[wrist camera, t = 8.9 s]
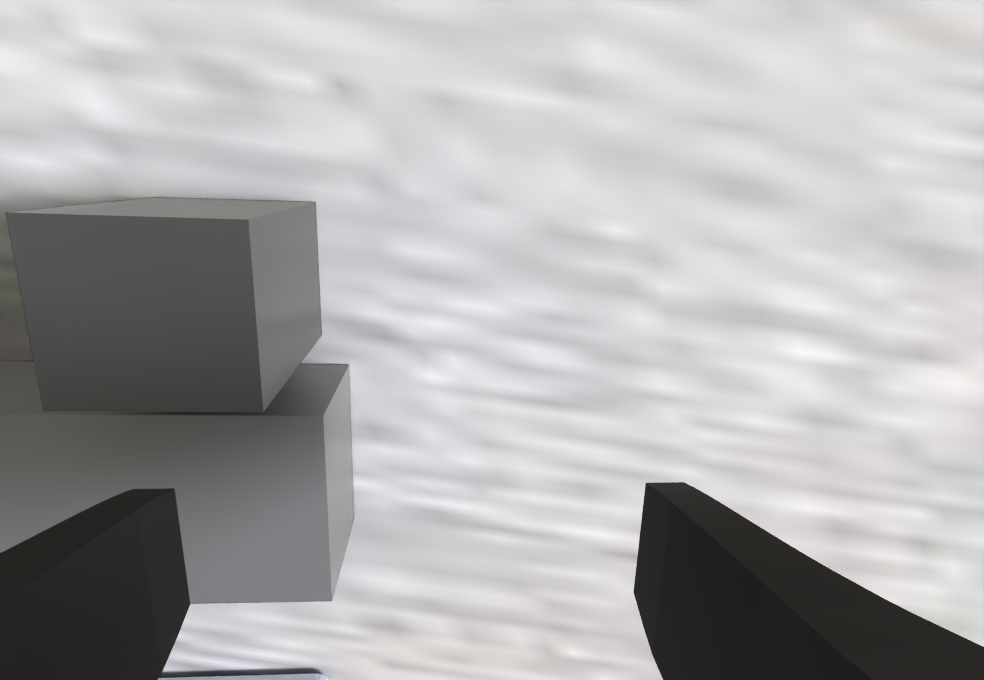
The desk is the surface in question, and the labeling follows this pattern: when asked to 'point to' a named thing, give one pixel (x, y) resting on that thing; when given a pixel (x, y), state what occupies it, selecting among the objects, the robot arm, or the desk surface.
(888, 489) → the desk surface
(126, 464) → the grey slotted block
